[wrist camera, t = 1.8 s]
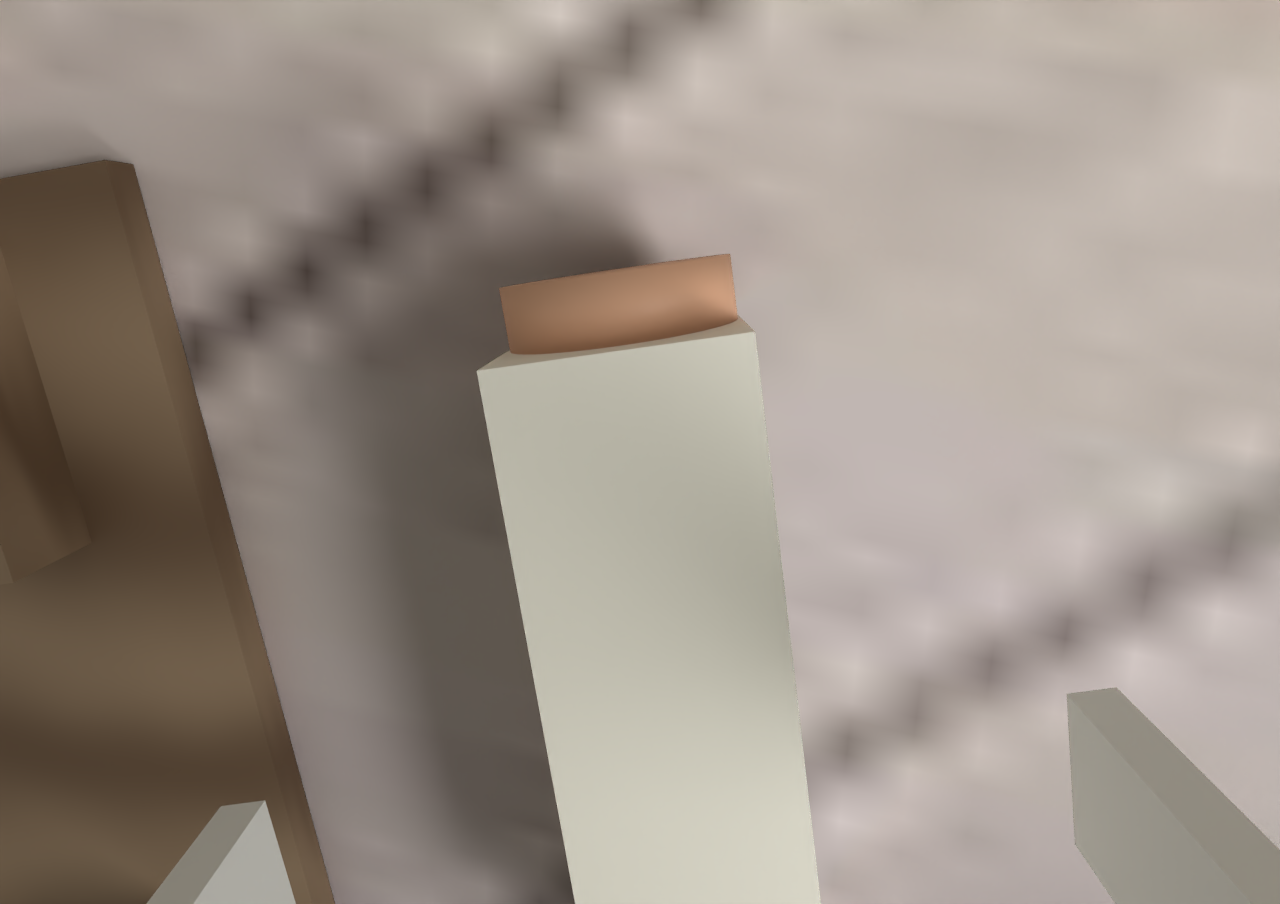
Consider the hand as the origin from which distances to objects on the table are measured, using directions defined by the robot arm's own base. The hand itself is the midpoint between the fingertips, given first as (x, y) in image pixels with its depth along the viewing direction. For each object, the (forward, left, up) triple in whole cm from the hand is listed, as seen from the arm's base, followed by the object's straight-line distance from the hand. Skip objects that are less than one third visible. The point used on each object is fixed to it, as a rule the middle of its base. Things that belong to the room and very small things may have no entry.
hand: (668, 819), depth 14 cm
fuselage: (0, 0, -7) cm, 7 cm away
